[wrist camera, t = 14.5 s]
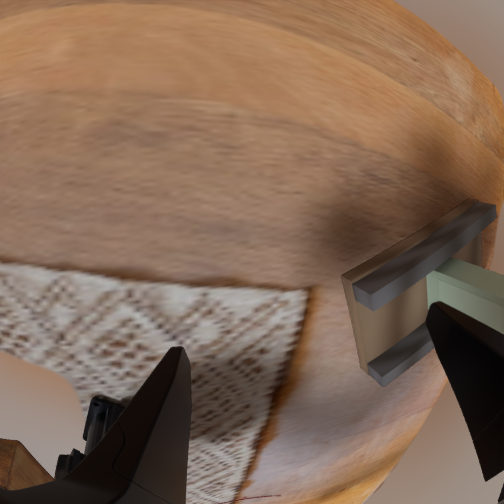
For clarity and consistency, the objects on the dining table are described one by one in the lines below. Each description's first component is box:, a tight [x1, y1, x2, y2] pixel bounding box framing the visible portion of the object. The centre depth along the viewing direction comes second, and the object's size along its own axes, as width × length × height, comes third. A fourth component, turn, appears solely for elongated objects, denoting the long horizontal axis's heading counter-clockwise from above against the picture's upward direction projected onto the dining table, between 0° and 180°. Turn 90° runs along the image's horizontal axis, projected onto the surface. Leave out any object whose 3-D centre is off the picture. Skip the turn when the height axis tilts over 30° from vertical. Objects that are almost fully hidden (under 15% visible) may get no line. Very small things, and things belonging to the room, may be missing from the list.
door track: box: [341, 199, 497, 387], centre depth 24 cm, size 20×11×4 cm, turn 111°
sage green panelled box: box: [426, 257, 504, 334], centre depth 19 cm, size 3×5×12 cm, turn 21°
